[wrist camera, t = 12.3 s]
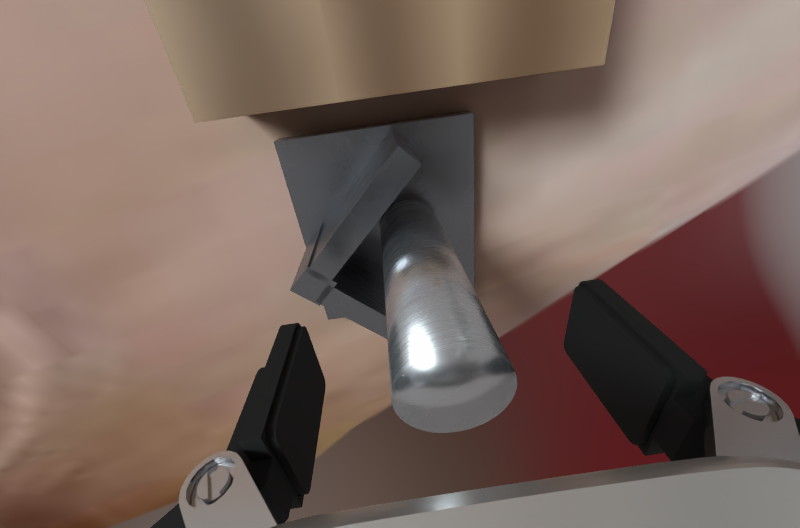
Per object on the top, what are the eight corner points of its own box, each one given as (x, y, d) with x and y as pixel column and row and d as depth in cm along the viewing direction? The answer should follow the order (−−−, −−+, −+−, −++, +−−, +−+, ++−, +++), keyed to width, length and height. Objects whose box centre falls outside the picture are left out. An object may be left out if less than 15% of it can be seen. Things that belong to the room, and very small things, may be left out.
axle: (436, 195, 19) (521, 337, 8) (440, 249, 20) (513, 423, 10) (375, 204, 18) (382, 358, 8) (385, 257, 20) (399, 440, 10)
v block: (470, 289, 23) (499, 349, 18) (329, 310, 23) (318, 376, 18) (468, 111, 17) (510, 124, 12) (278, 138, 17) (239, 162, 12)
